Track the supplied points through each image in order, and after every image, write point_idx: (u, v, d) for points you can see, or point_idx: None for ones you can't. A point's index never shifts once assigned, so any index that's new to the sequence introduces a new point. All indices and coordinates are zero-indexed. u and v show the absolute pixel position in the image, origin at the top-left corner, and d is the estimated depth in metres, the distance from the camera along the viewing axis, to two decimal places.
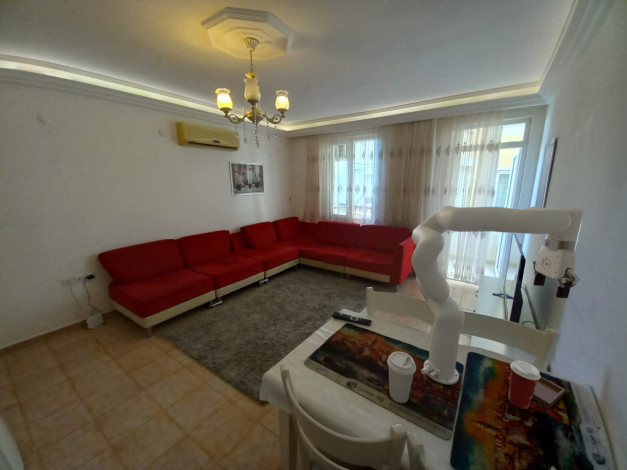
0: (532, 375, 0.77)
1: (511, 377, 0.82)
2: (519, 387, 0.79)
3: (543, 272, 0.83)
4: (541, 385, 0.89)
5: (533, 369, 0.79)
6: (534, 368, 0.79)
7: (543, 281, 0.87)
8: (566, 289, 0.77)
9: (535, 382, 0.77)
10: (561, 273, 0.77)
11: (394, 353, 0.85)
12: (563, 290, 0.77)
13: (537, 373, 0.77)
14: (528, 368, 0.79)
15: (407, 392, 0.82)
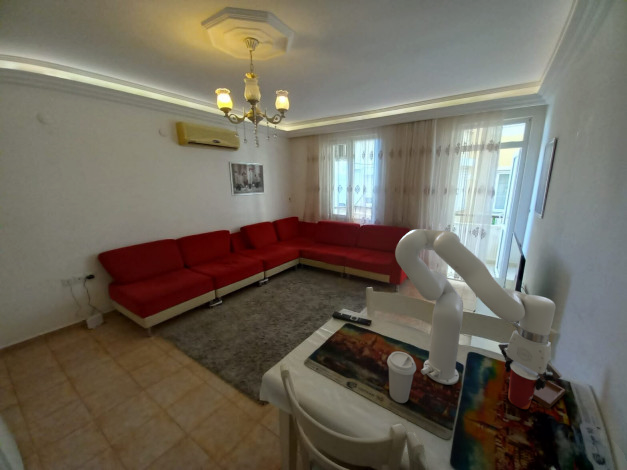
0: (532, 375, 0.77)
1: (511, 377, 0.82)
2: (519, 387, 0.79)
3: (521, 362, 0.78)
4: None
5: None
6: None
7: None
8: (544, 381, 0.75)
9: (535, 382, 0.77)
10: (545, 368, 0.74)
11: (394, 353, 0.85)
12: (543, 383, 0.75)
13: (537, 373, 0.77)
14: None
15: (407, 392, 0.82)
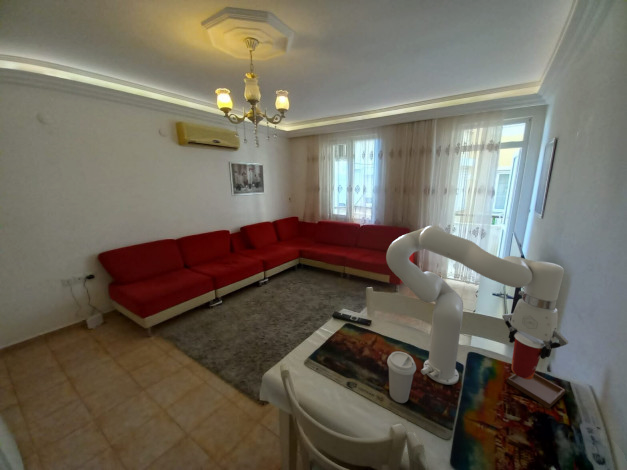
0: (537, 343, 0.74)
1: (515, 347, 0.79)
2: (523, 357, 0.77)
3: (526, 331, 0.76)
4: (541, 385, 0.89)
5: None
6: None
7: None
8: (550, 349, 0.73)
9: (540, 351, 0.75)
10: (551, 335, 0.71)
11: (394, 353, 0.85)
12: (548, 351, 0.73)
13: (542, 342, 0.75)
14: (533, 337, 0.77)
15: (407, 392, 0.82)
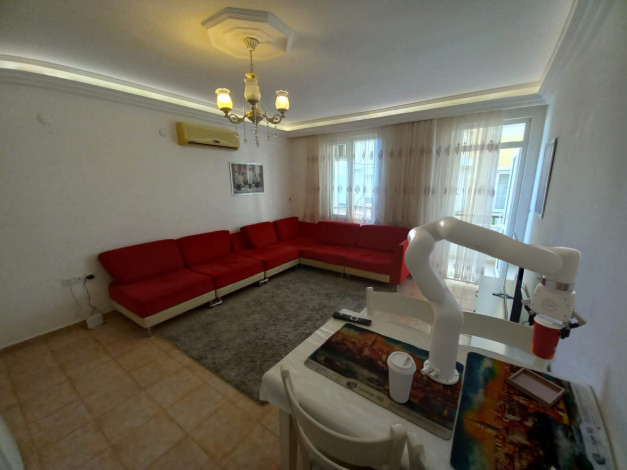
0: (557, 325, 0.78)
1: (535, 330, 0.83)
2: (543, 338, 0.81)
3: (545, 313, 0.80)
4: (541, 385, 0.89)
5: (557, 320, 0.81)
6: None
7: None
8: (569, 330, 0.77)
9: (559, 332, 0.79)
10: (570, 316, 0.75)
11: (394, 353, 0.85)
12: (568, 332, 0.77)
13: (561, 323, 0.79)
14: (552, 319, 0.81)
15: (407, 392, 0.82)
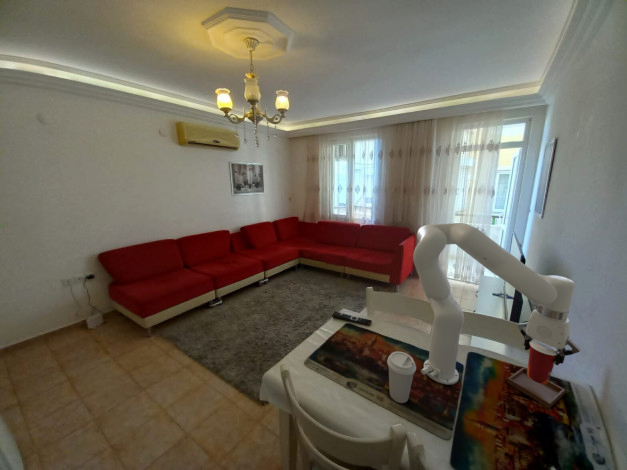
0: (551, 351, 0.81)
1: (530, 354, 0.86)
2: (538, 363, 0.83)
3: (540, 339, 0.83)
4: (541, 385, 0.89)
5: None
6: None
7: None
8: (563, 356, 0.80)
9: (554, 357, 0.81)
10: (564, 343, 0.78)
11: (394, 353, 0.85)
12: (562, 358, 0.80)
13: (556, 349, 0.81)
14: (547, 345, 0.84)
15: (407, 392, 0.82)
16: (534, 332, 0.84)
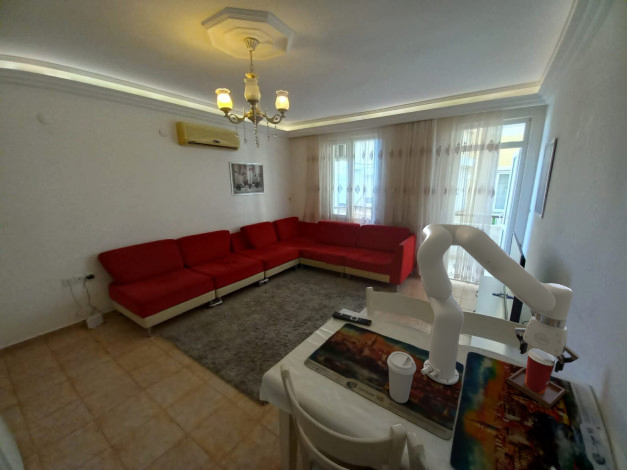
0: (549, 361, 0.82)
1: (528, 364, 0.87)
2: (536, 373, 0.84)
3: (538, 346, 0.83)
4: None
5: (549, 356, 0.84)
6: (550, 355, 0.84)
7: (526, 348, 0.90)
8: (563, 364, 0.80)
9: (551, 368, 0.82)
10: (561, 351, 0.79)
11: (394, 353, 0.85)
12: (562, 365, 0.80)
13: (553, 359, 0.82)
14: (544, 355, 0.84)
15: (407, 392, 0.82)
16: (532, 339, 0.85)
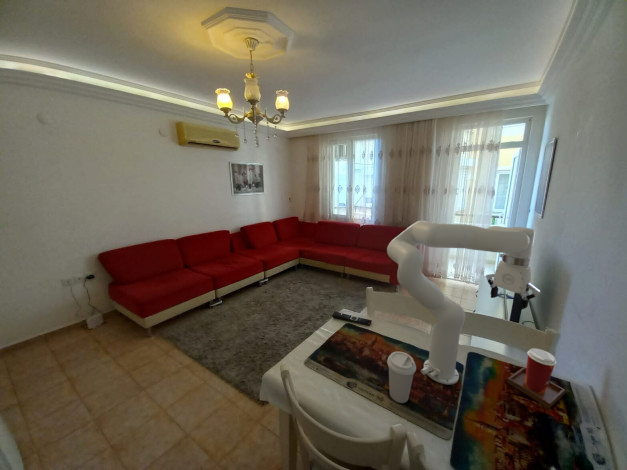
0: (549, 361, 0.82)
1: (528, 364, 0.87)
2: (536, 373, 0.84)
3: (505, 287, 0.89)
4: None
5: (549, 356, 0.84)
6: (550, 355, 0.84)
7: (497, 293, 0.95)
8: (527, 301, 0.86)
9: (551, 368, 0.82)
10: (525, 288, 0.84)
11: (394, 353, 0.85)
12: (525, 302, 0.85)
13: (553, 359, 0.82)
14: (544, 355, 0.84)
15: (407, 392, 0.82)
16: (500, 281, 0.91)
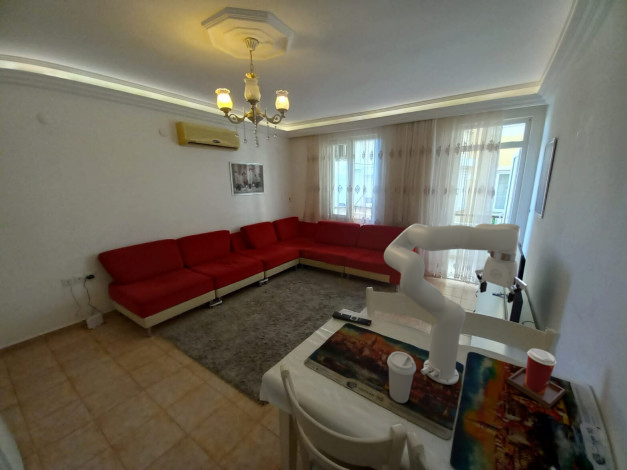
0: (549, 361, 0.82)
1: (528, 364, 0.87)
2: (536, 373, 0.84)
3: (493, 281, 0.92)
4: None
5: (549, 356, 0.84)
6: (550, 355, 0.84)
7: (485, 287, 0.99)
8: (514, 294, 0.89)
9: (551, 368, 0.82)
10: (512, 282, 0.88)
11: (394, 353, 0.85)
12: (513, 296, 0.89)
13: (553, 359, 0.82)
14: (544, 355, 0.84)
15: (407, 392, 0.82)
16: (488, 276, 0.94)
